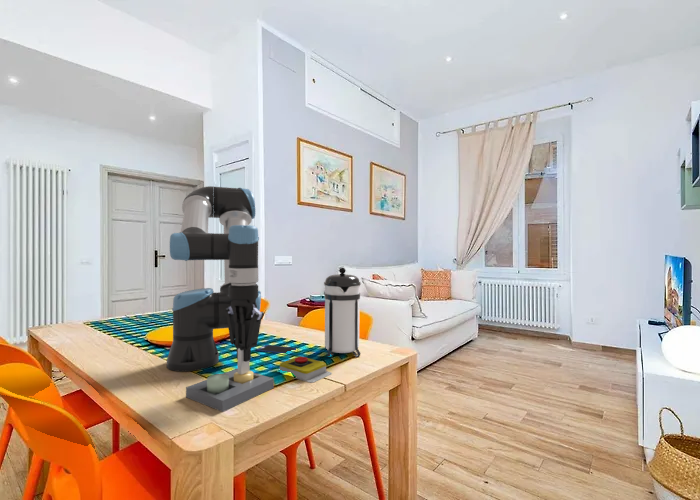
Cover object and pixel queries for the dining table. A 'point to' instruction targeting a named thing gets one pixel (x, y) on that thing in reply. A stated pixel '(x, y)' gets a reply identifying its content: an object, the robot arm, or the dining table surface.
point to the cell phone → (275, 349)
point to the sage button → (217, 383)
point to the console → (230, 391)
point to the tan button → (243, 377)
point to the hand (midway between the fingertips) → (243, 372)
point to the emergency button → (305, 369)
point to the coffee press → (342, 313)
